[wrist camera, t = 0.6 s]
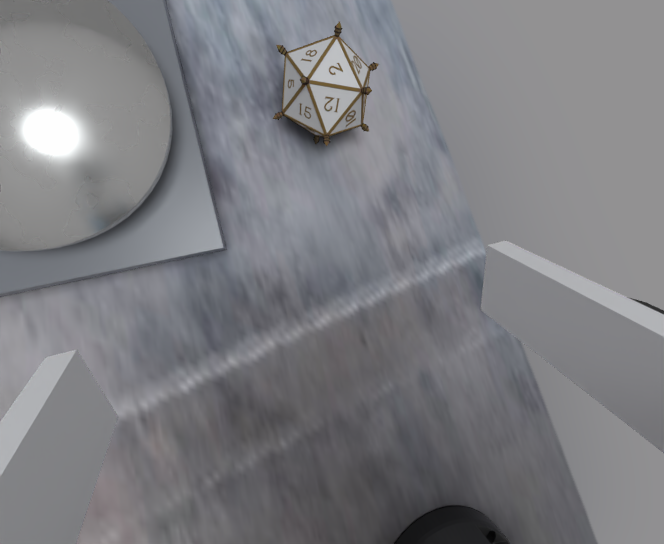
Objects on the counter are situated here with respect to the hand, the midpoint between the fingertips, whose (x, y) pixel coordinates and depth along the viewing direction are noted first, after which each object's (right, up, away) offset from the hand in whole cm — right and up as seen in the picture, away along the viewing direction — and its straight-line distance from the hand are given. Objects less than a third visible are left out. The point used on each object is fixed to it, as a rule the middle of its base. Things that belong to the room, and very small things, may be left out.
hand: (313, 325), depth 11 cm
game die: (-1, +17, +21) cm, 27 cm away
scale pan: (-19, +12, +11) cm, 26 cm away
